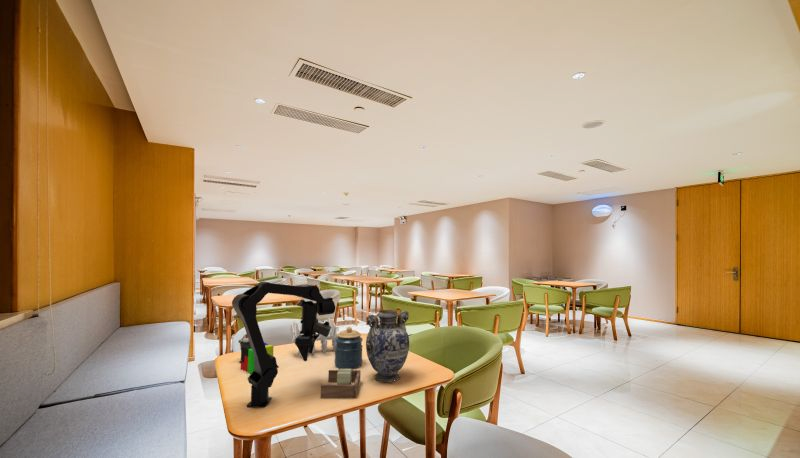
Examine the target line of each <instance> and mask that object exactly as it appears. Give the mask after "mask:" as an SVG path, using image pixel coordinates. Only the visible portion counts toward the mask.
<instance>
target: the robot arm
mask: <svg viewBox="0 0 800 458" xmlns="http://www.w3.org/2000/svg"><path fill="white" fill-rule="evenodd" d="M268 294H274V295H286V296H295V297H299V298H301V299H300V301H299V302H298V303H297V304H296V306H297V307H301V319H300V324H301V326H300V334H303V335H299V336H298V337H297V338H296V339H295V342H294V344H295V346H296V347H297V349H299V350H298V352H299V351H300V353H301V358H302V360H303V361H304V362H307V361H308V358H309V355H311V354H312V351H313V347H314V344H315V342H316V341H315V340H316V339H317V338H318V337H319V335H320V334H321V335H323V336H325V337H327V336H328V335H329V332H330V330H331V326H330V325H329V322H327V321H326V322H325V321H324V322H323V323H322V322H321V323H319V322H318V320H319V318H318V316H326V315H332V314H335V311H336V304H335V301H333V299H334V298H333V297H329V296H328V297H325V298H324V297H323V295H322V293H321V291H320V287H318V286H317V285H313V284H309V283H306V284H299V285H298V284H297V285H296V284H295V285H293V284H292V285H291V284H284V283H273V282H267V281H259V283H257V284H256V285H254V286H252V287H251V288H249V289H247V290H245V291H244V292H243V293H240V294H237V295H236V296H234V297H233V298H232V301H231V305H232V308H233V310H234V311H235V314H237V316H238V317H239V318H240V320H241V322H242V323H243V327H244V330H245V332H246V333H245V334H247V336H248V339H249V342H250V345H251V348H252V351H253V354H254V371H253V372H252V374H250V375H249V376H248V377H247V380H248V383H249V384H250V387H251V388H250V401H249V402H248V403H247V404H246V407H247V408H265V407H266V406H268V404H269V403H270V402H271V401H272V399H273V398H272V397H270V396H269V393H270V392H269V390H270V389H269V388H271V387H272V386H273V383H274V380H275V378H276V377H277V375H278V373H279V370H278V369H279V368H280V366H279V365H278V364H277V358H276V357H275V356H274V355H273V356H272V355H270V354H268V353H267V350H266V347H265V344H264V343H265V342H264V338H263V334H262V332H261V328H260V326H259V323H258V319H257V311H258V308H257V305H259V303H260V302H262V301H263V299H264V298H265V297H266V295H268ZM304 299H305V300H304ZM316 333H318V334H316Z"/></svg>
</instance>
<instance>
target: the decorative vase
mask: <svg viewBox="0 0 800 458" xmlns="http://www.w3.org/2000/svg"><path fill="white" fill-rule="evenodd" d="M409 315H410V313H409V311H408V310H402V311H400V313H398V311H397V310H393V309H384V310H383V309H382V310H379V311H378V313H377V314H376V315H374V314H369V315H367V317H366V318H365V321H366V323H365V325H366V326H369V327H370V328H369V331H368V333H367V335H366V339H365V340H366V341H365V350H366V351H365V352H366V355H367V359H368V361H369V363H370V365H371V367H372V368H373V370H374V371H376V372H377V373H376V374H375V376H374V379H375V380H376V381H378V382H381V381H382V382H381V383H391V382H390V381H393V382H395V381H394V380H397V379H398V378H399V377H400V376H401V375H400V374H399V373H398V372H399V371H400V370H401V369H402V368H403V366H404V365H405V362H406V361H407V358H408V356H409V351H410V337H409V334H408V332H407V327H406V326H407V325H406V323H407V321H408V320H409V319H410V318H409ZM399 379H400V378H399ZM399 379H398V380H399ZM398 380H397V381H398Z"/></svg>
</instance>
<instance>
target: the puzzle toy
mask: <svg viewBox="0 0 800 458" xmlns="http://www.w3.org/2000/svg"><path fill="white" fill-rule="evenodd" d="M264 344H265V347H266V350H267V353H268V354H270V355H272V356H274V345H272V344H270V343H267V342H264ZM240 361H241V363H240V370H243V371H244V372H245V373H248V374H250V375H251V374H252V372H253V371H254V354H253V351H252V348H251V345H246V346H241V347H240Z"/></svg>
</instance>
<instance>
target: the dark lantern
mask: <svg viewBox="0 0 800 458" xmlns="http://www.w3.org/2000/svg"><path fill="white" fill-rule="evenodd" d="M238 343H239V346H240V348H241V346H246V345H250V342H249V339H248V336H247V333H245V334H243V336H242V338H241V339H239V340H238ZM239 364H241V360H240V361H239Z"/></svg>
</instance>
